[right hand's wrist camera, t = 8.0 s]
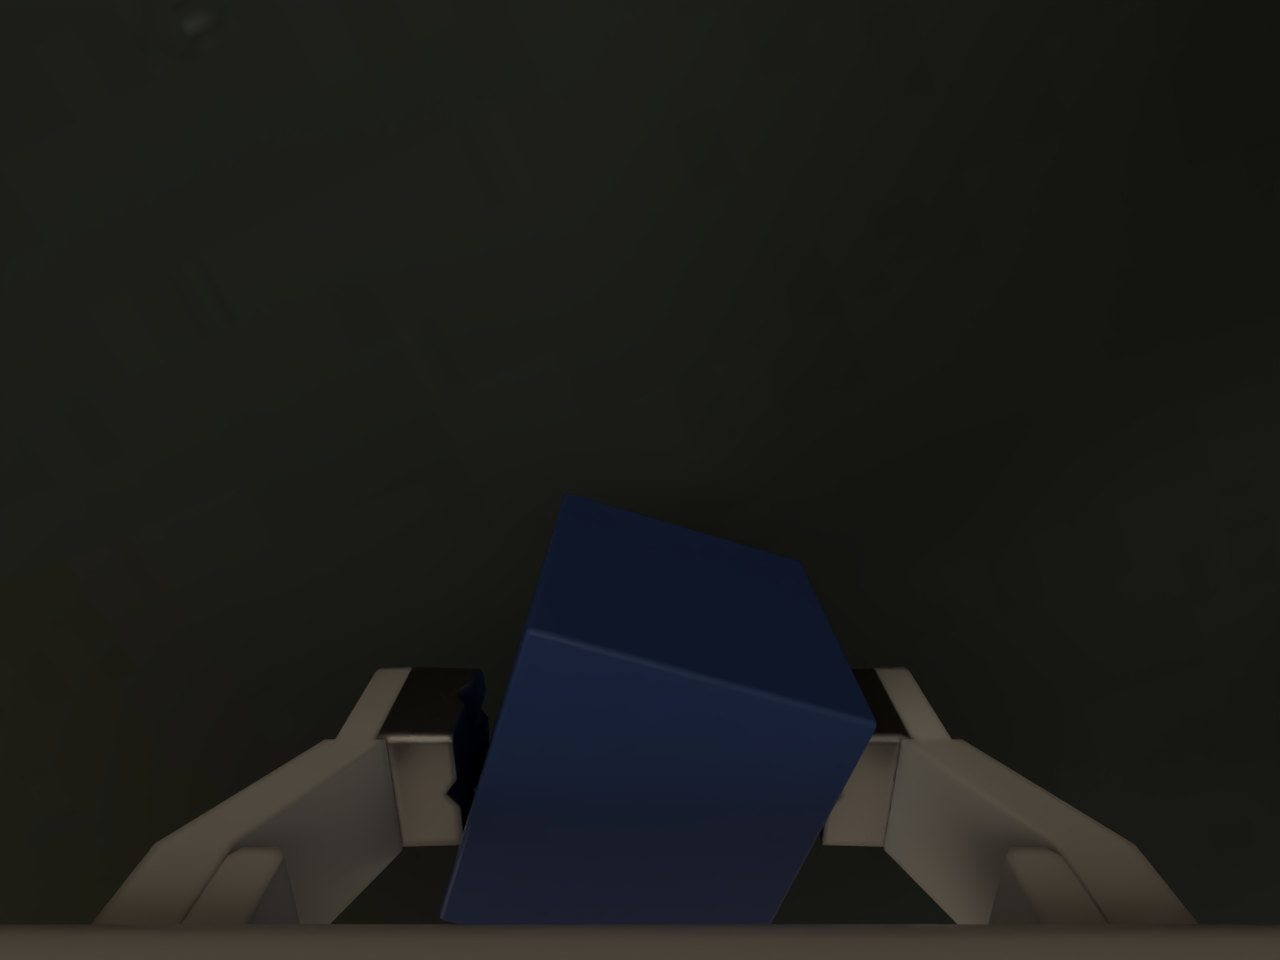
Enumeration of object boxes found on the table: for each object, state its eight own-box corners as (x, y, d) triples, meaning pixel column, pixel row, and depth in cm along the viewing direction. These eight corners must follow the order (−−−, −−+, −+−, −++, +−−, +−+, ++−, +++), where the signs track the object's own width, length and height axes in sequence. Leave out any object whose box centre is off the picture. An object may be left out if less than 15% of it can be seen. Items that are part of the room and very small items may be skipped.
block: (710, 765, 13) (739, 989, 9) (498, 711, 13) (436, 922, 9) (801, 560, 12) (881, 725, 8) (565, 490, 11) (526, 628, 7)
